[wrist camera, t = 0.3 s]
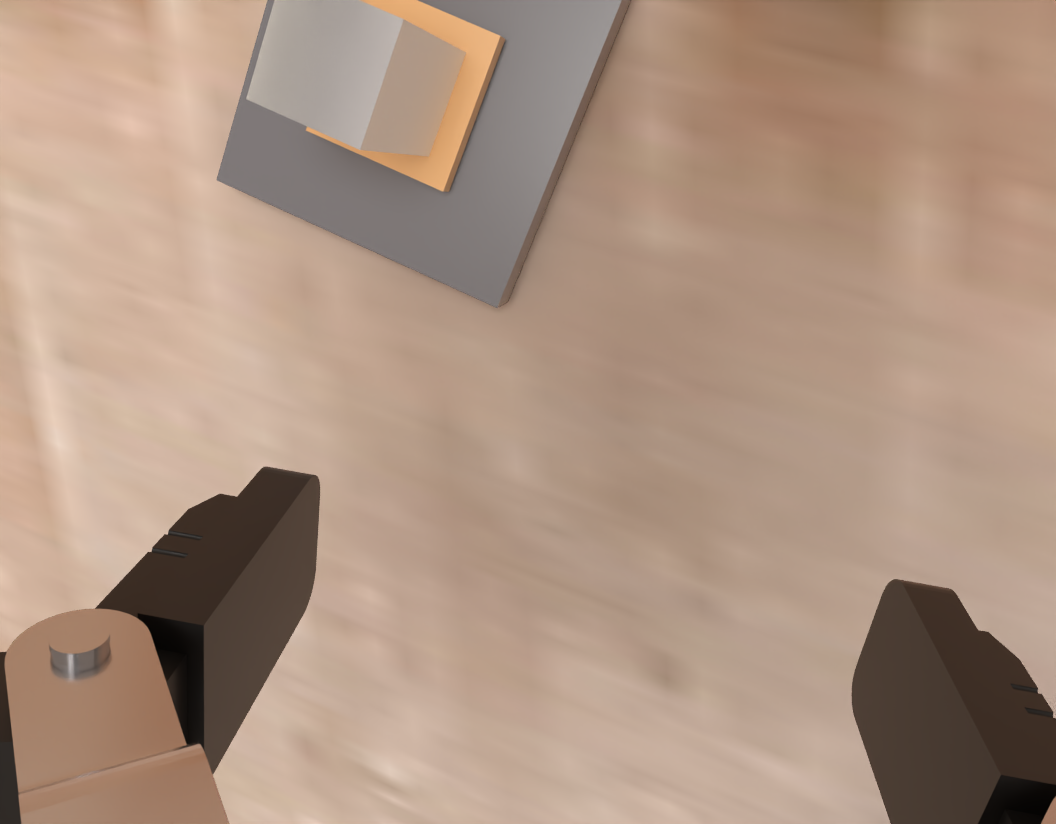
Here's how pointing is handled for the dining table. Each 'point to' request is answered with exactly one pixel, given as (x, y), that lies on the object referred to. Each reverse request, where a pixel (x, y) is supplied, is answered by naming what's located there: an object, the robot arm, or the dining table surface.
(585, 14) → the socket box
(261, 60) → the plug
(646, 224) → the dining table surface
